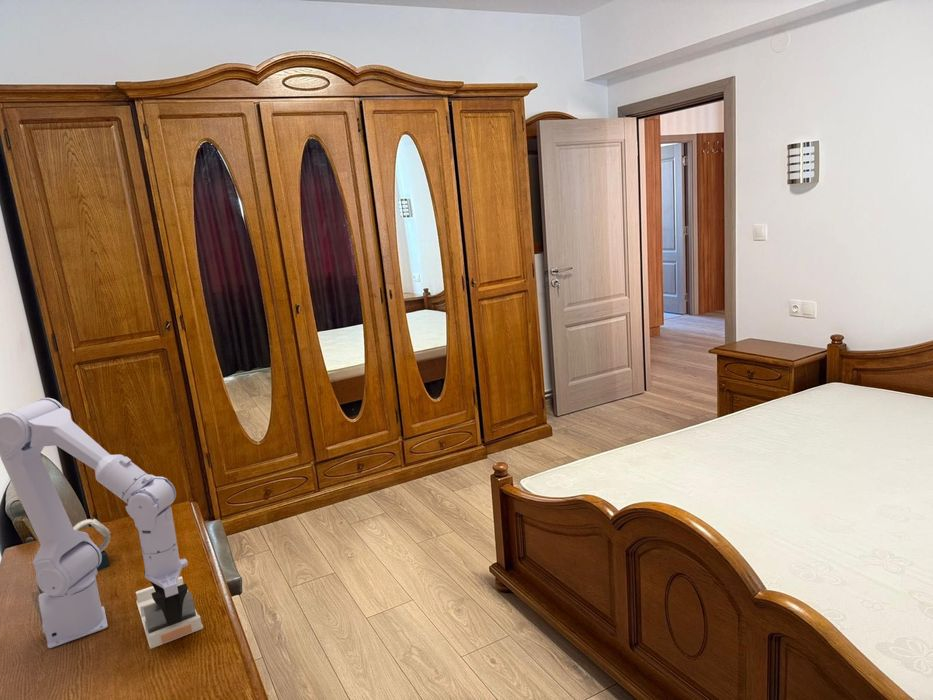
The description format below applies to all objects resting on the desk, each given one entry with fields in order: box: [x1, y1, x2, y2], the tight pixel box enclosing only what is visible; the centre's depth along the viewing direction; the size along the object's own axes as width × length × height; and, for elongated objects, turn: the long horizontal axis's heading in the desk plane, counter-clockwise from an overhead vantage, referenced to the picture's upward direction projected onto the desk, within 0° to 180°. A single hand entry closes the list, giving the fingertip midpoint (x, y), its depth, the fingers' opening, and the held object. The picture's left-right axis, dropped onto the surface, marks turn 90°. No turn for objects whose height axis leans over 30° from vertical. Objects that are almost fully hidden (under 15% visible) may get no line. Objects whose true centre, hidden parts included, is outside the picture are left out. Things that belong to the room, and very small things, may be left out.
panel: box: [143, 590, 196, 635], centre depth 114 cm, size 8×3×5 cm, turn 125°
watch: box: [73, 518, 112, 572], centre depth 138 cm, size 6×8×11 cm
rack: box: [135, 575, 204, 650], centre depth 119 cm, size 9×18×2 cm, turn 35°
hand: (170, 612), depth 114 cm, fingers open, 7 cm apart
